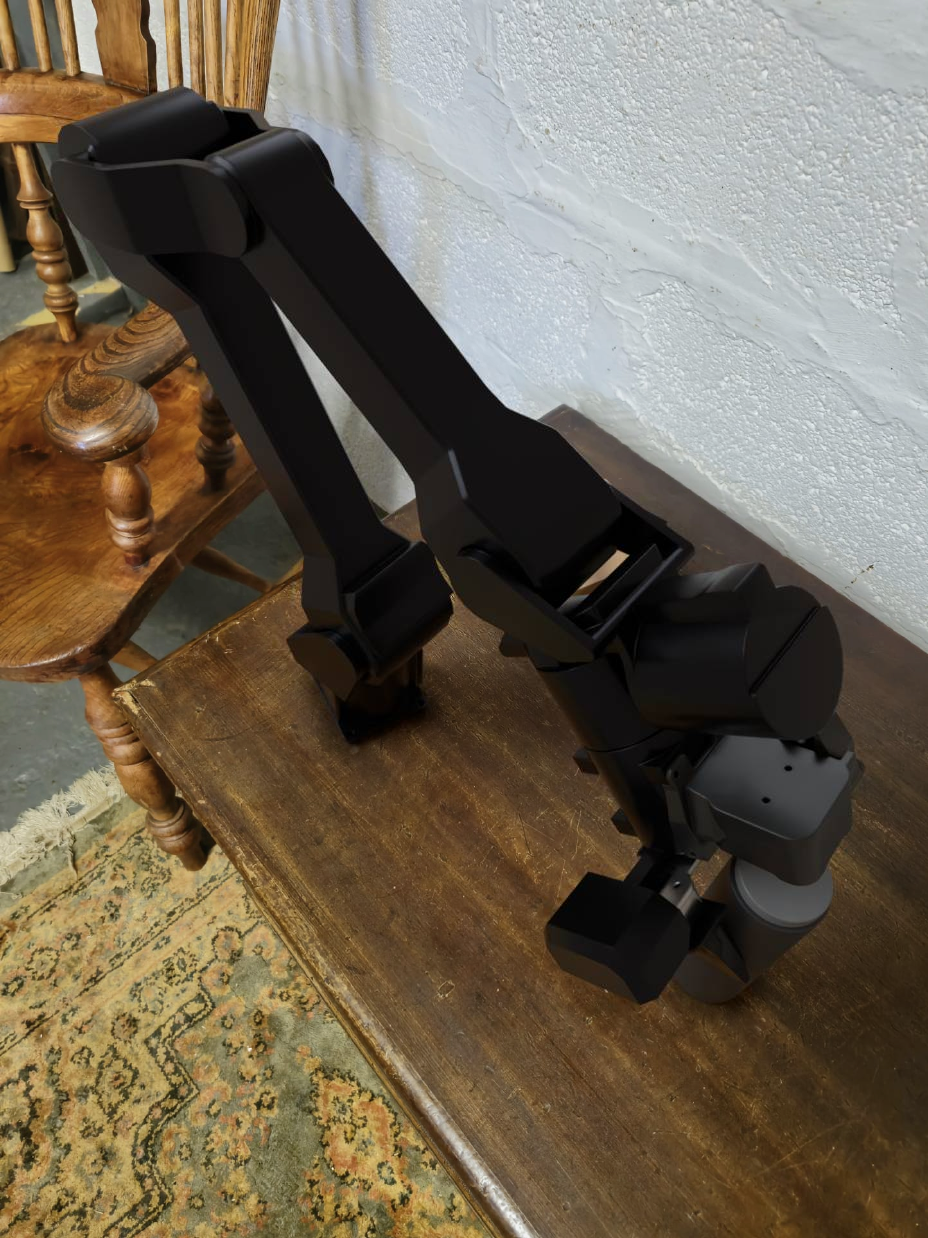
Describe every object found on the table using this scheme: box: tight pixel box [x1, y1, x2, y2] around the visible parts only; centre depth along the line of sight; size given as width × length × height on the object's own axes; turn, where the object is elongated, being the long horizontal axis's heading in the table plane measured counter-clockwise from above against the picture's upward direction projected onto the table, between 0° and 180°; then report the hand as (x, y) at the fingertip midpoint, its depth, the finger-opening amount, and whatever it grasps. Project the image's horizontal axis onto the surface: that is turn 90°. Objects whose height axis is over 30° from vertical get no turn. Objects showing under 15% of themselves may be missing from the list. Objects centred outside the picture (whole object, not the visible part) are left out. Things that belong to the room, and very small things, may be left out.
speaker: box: [672, 855, 834, 1004], centre depth 45 cm, size 5×5×14 cm
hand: (764, 941), depth 45 cm, fingers closed on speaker, 5 cm apart
